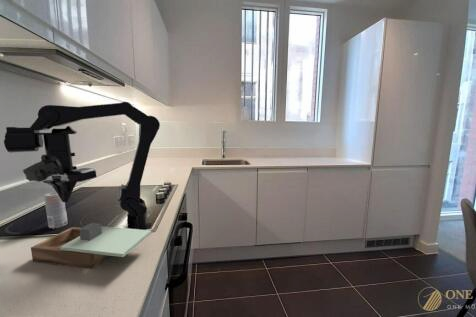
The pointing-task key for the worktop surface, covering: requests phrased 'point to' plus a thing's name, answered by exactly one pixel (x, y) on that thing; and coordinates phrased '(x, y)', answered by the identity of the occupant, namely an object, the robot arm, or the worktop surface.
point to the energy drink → (55, 210)
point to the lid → (106, 240)
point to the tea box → (64, 251)
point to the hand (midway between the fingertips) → (65, 201)
